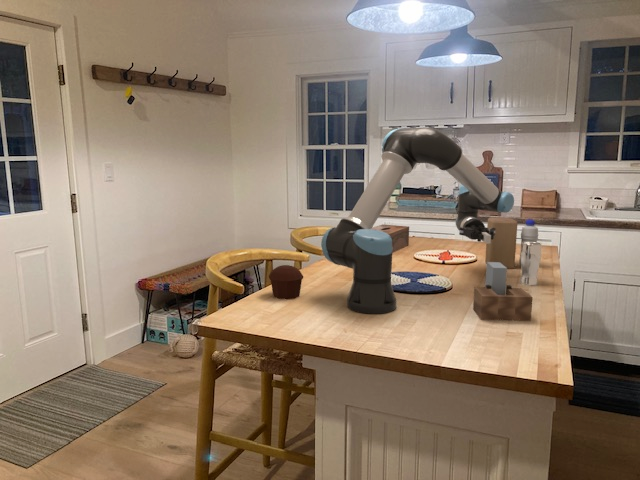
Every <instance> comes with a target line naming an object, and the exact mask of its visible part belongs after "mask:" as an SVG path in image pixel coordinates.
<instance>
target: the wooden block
mask: <svg viewBox="0 0 640 480" xmlns="http://www.w3.org/2000/svg"><path fill="white" fill-rule="evenodd" d="M486 228H488V230H490V228H495V235H494V239H492V240H491V244H486V243H485V245H486V246H485V260H484V262H485V264H486V265H487V262H500V263H501V264H503V265H504V266H505V267H506V268H507V270H510V269H511V270H513V269H515V267H516V266H515V265H516V264H515V262H516V252H517V251H516V249H517V233H518V221H517V220H515V219H513V218H511V217H488V219H487V226H486Z"/></svg>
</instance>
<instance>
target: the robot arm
mask: <svg viewBox="0 0 640 480" xmlns="http://www.w3.org/2000/svg"><path fill="white" fill-rule="evenodd" d="M381 146H382V148H381V160H382V161H381V163H380V165H379V167H378V168H377V170H376V172H375V173H374V174H373V176H372V178H371V179H370V181H369V182H368V184H367V186H366V187H365V189H364V191H363V192H362V194H361V196H360V197H359V199H358V200H357V202H356V204H355V205H354V207H353V209H352V210H351V211H350V213H349V215H348V216H347V217H343V218H341V220H339V222H338V224H337V226H336V227H331V228H329V229H328V230H326V231H325V232H324V234H323V236H322V239H321V243H320V245H321V253H322V254H323V256H324V258H325V259H326V260H327V261H328V262H331V263H333V264H335V265H337V266H343V267H345V268H350V269H352V271H353V275H352V276H353V278H352V279H353V280H352V284H351V287H350V290H349V293H348V295H347V299H346V301H347V302H346V307H347V308H348V309H350V310H351V311H354V312H357V313H361V314H369V315H370V314H373V315H374V314H376V315H377V314H386V313H390V312H393V311H395V310H396V309H397V298H396V295H395V292H394V287H393V286H392V269H393V265H392V264H393V253H392V251H393V247H392V238H391V237H390V235H389V234H387V233H385V232H382V231H379V230H372V229H371V228H373V226H374V225H375V223H376V221H377V220H378V218H379V217H380V216H381V213H382V212H383V210H384V209H385V208H386V205H387V204H388V202H389V201H390V198H392V196H393V194H394V192H395V190H396V189H397V187H398V185H399V184H400V183H401V180H402V179H403V177H404V175H407V174H410V173H411V172H412V171H413V169H414V168H415V166H416V164H429V165H432V166H436V167H437V168H438V169H439V170H441V171H446V172H447V173H448V174H449V175H451V177H452V178H454V179H455V180H456V181H457V182H459V184H460V185H459V188H458V189H459V190H458V199H457V200H458V201H457V203H458V204H457V205H458V206H457V217H456V219H455V226H456V228H457V230H458V232H459V235H460V236H463V237H466V238H467V239H470V240H472V241H473V240H474V241H475V240H476V242H479V243H481V242H483V243H484V244H485V245H486V244H491V240H492V239H494V235H495V228H490V230H488V228H487V226H486V225H485V224H484V223H483V222H482V221H481V220H479V219H478V216H479V215H478V214H479V211H485V212H494V213H499V214H500V213H505V214H507V213H509V212H511V210H512V209H513V206H514V204H515V198H514V196H513V193H511V192H509V191H502V190H501V189H499V188H498V187H497V186H496V185H495V184H494V183H493V182H492V181H491V180H490V179H489V178H488V177H487V176H486V175H485V174H484V173H483V172H482V171H481V170H480V169H478V168H477V166H476V165H475V164H474V163H472V161H470V159H468V158H467V157H466V155H464V154H463V150H462V148H461V146H459V144H458V143H456V141H454V140H453V139H452V138H451V137H449V136H448V135H446V134H445V133H443V132H441V131H439V130H437V129H435V128H432V127H409V128H407V127H401V128H400V127H399V128H397V129H393V130H391V131H389V132H388V133H387V134H385V137H384V138H383V140H382V144H381Z"/></svg>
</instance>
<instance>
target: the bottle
mask: <svg viewBox="0 0 640 480" xmlns="http://www.w3.org/2000/svg"><path fill="white" fill-rule="evenodd" d="M520 240H521V243H520V247H521V246H522V242H537V241H538V240H539V227H537V226H535V220H534V219H526V221H525V225H524V226H522V229H521V233H520ZM519 266H520V267H521V261H520V259H519Z"/></svg>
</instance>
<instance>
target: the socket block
mask: <svg viewBox="0 0 640 480" xmlns="http://www.w3.org/2000/svg"><path fill="white" fill-rule="evenodd" d="M472 309H473V311H474V312H475V314H476V315H477V317H478V318H479V319H480V320H481V321H512V320H514V321H513V322H515V321H519V322H520V321H523V322H531V320H532V310H533V296H532V295H530V294H529V293H528V292H527V291H526V290H525V289H524V288H522V287H512V285H511V284H506V291H505V295H497V294H496V293H495V292H494V291H493V290H492V289H491V285H486V287H485V286H482V287H481V286H474V291H473V307H472Z"/></svg>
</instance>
